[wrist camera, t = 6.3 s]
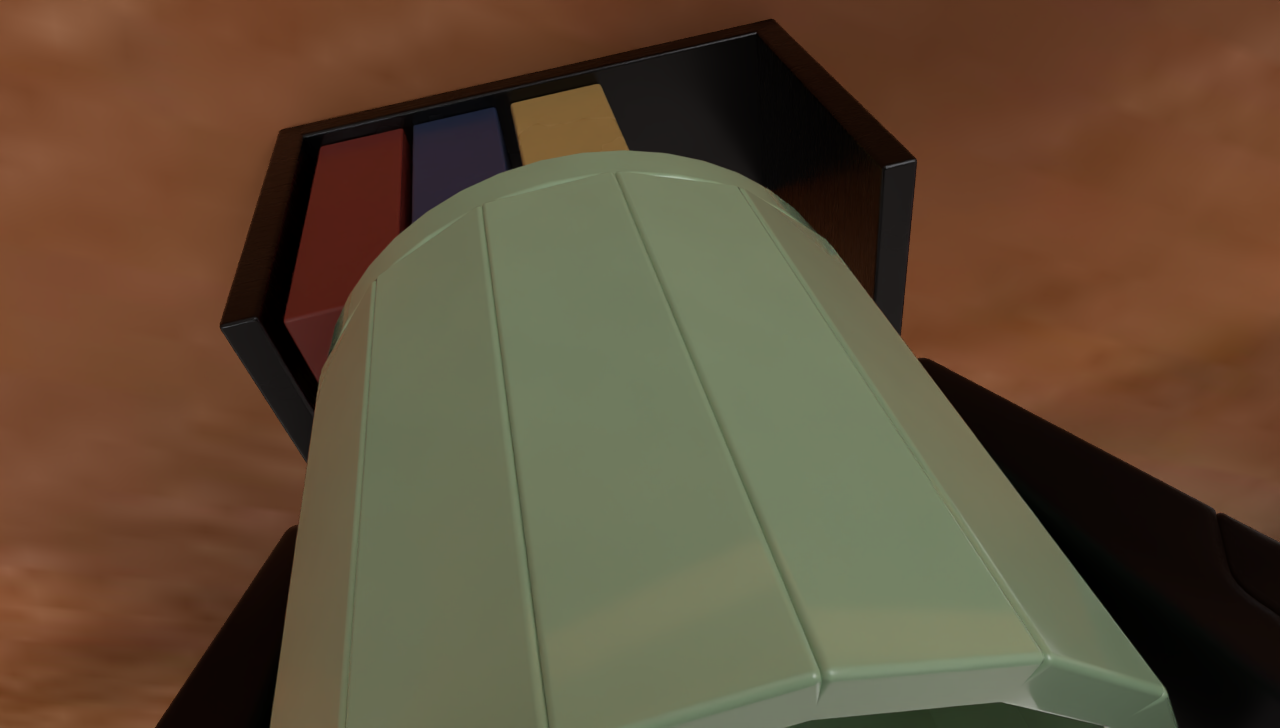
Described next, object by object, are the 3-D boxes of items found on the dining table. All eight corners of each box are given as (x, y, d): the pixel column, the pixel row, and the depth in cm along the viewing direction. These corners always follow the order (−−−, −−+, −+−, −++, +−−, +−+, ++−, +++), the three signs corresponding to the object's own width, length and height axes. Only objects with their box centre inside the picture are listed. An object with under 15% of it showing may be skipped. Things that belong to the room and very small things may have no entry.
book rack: (350, 279, 20) (325, 495, 15) (278, 129, 17) (216, 326, 12) (778, 177, 20) (901, 349, 15) (773, 17, 18) (919, 158, 13)
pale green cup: (432, 603, 12) (441, 1120, 8) (214, 238, 8) (-43, 928, 4) (844, 489, 13) (1077, 920, 8) (851, 81, 8) (1352, 524, 4)
